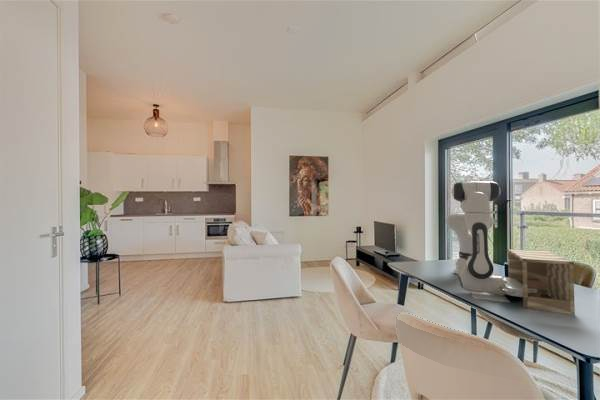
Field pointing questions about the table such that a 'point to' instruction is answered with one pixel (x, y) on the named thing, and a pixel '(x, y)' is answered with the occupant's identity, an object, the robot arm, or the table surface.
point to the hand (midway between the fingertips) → (534, 288)
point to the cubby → (544, 279)
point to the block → (534, 286)
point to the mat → (489, 296)
